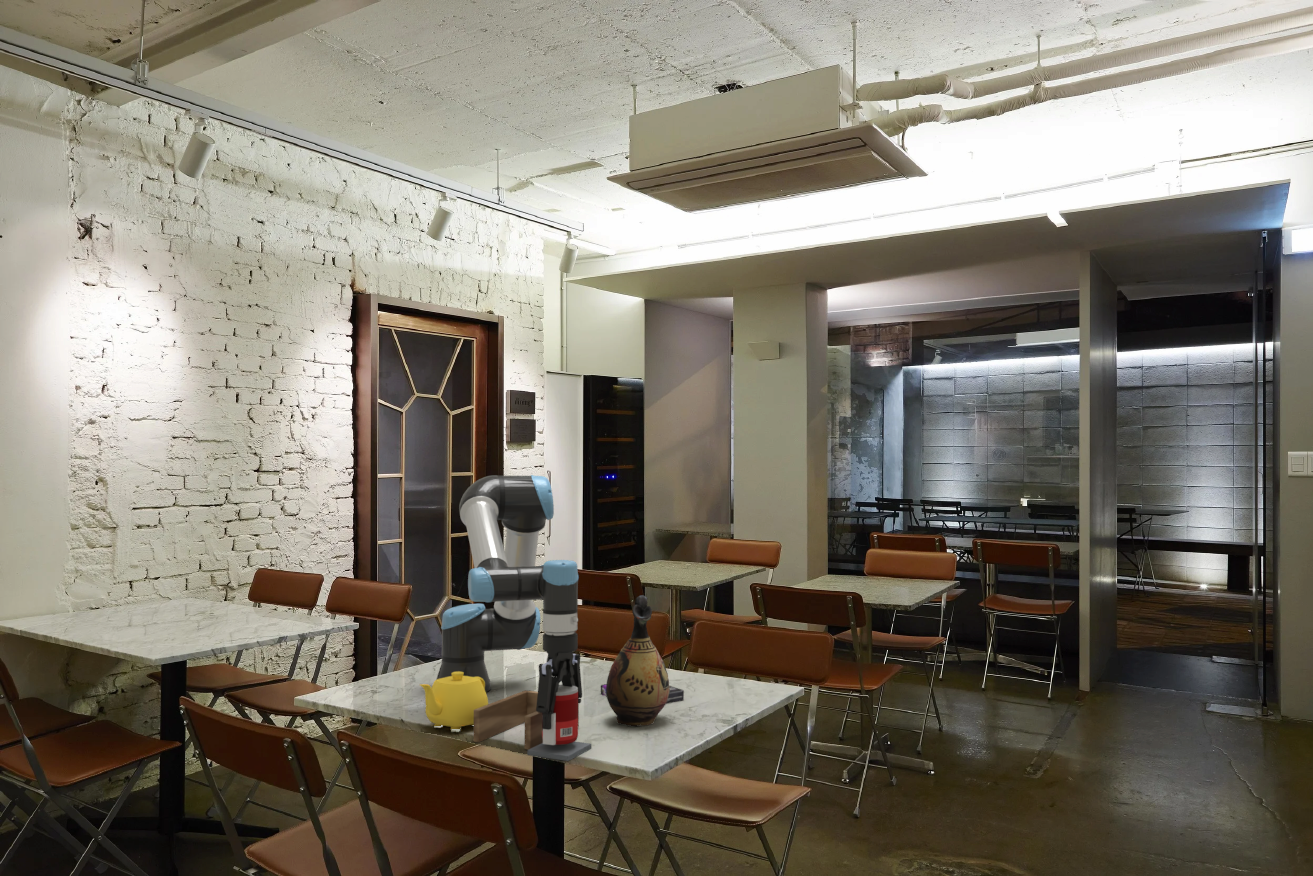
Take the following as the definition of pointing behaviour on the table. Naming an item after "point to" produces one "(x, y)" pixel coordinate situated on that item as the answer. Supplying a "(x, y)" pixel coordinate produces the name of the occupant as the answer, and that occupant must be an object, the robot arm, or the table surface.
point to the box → (673, 695)
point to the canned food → (566, 715)
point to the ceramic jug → (638, 675)
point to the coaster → (559, 750)
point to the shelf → (510, 718)
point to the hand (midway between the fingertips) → (559, 738)
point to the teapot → (454, 700)
